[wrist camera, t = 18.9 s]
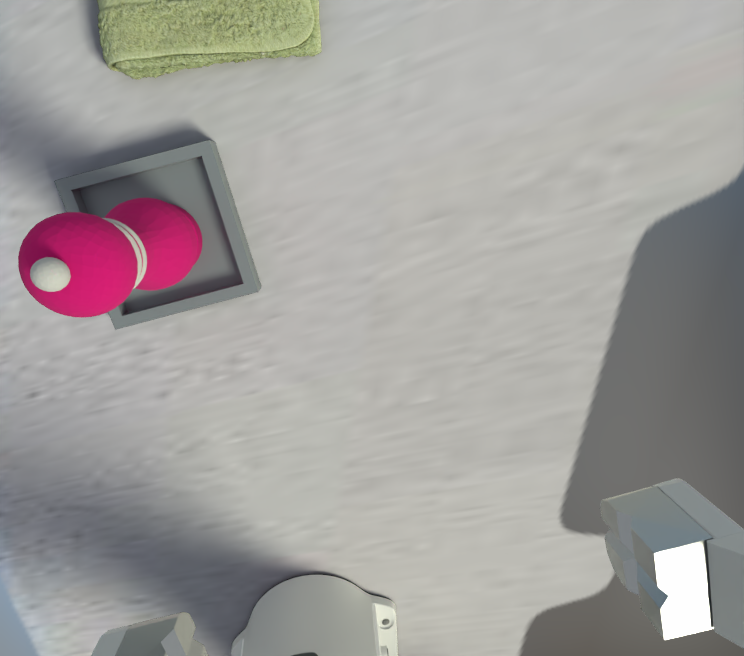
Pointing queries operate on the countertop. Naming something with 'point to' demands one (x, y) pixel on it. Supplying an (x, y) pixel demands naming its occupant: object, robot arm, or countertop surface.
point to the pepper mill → (108, 255)
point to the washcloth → (203, 33)
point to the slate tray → (196, 196)
